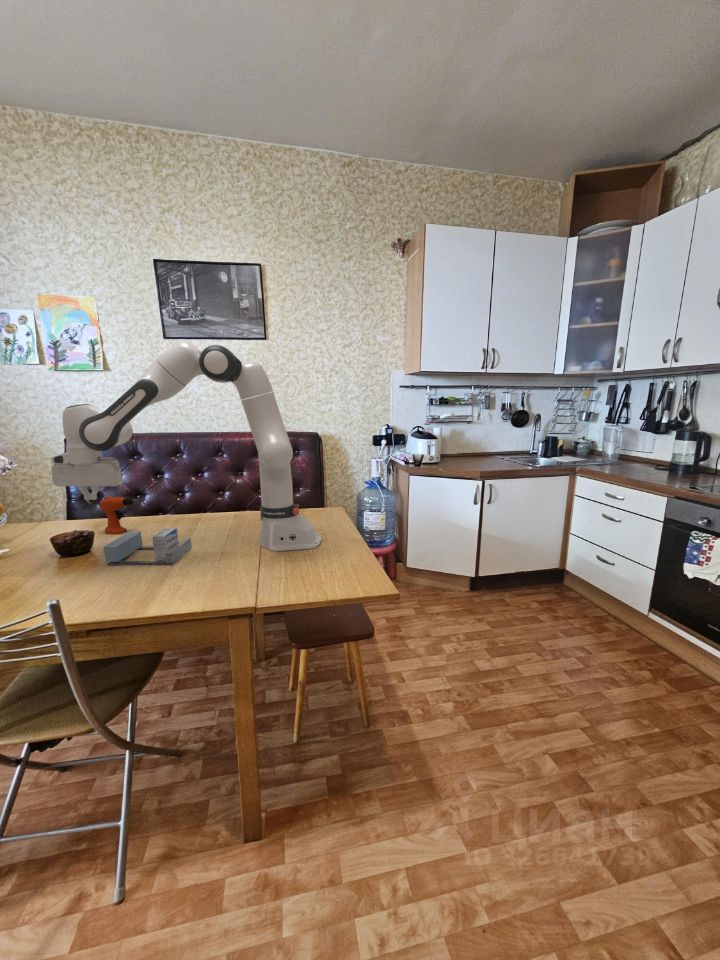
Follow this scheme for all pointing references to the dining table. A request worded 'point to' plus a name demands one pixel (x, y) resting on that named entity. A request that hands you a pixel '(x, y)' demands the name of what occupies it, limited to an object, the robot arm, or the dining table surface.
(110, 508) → the toy drill
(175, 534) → the medicine box
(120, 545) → the vise jaw
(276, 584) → the dining table surface
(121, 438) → the robot arm
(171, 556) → the vise
